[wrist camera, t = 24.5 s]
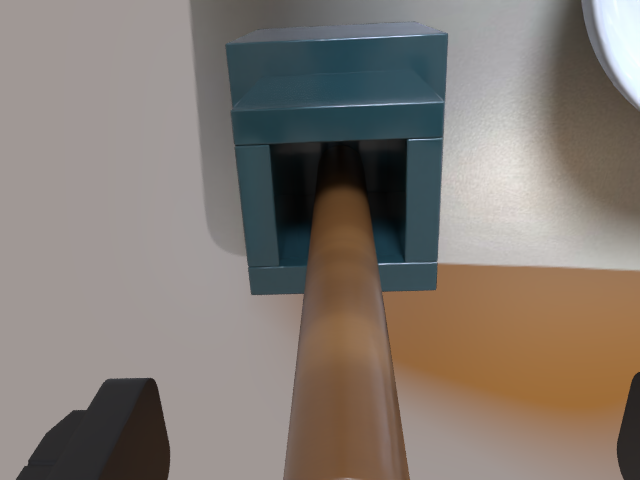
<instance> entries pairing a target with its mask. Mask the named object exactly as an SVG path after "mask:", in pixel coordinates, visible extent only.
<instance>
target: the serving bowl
mask: <svg viewBox="0 0 640 480" xmlns="http://www.w3.org/2000/svg"><path fill="white" fill-rule="evenodd" d="M581 1H582V9H583V15H584V21H585V25H586V29H587V33H588V36H589V39H590V42H591V44H592V47H593V50H594V52H595V55H596V57H597V58H598V60H599V62H600V64H601V66H602V68H603V70H604V71H605V73H606V74H607V76H608V78H609V79H610V80H611V82H612V83H613V85H614V86H615V87H616V88H617V89H618V90H619V92H620V93H621V94H622V95H623V96H624V97H625V98H626V99H627V100H628V101H629V102H630V103H631V104H632V105H633V106H634V107H635V108H636V109H637V110H639V111H640V0H581Z"/></svg>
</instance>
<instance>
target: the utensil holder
mask: <svg viewBox="0 0 640 480" xmlns="http://www.w3.org/2000/svg"><path fill="white" fill-rule="evenodd" d="M225 46H226V55H227V64H228V73H229V82H230V91H231V100H232V110H231V121H232V130H233V138H234V144H235V156H236V165H237V173H238V182H239V191H240V200H241V209H242V218H243V227H244V236H245V244H246V253H247V261H248V266H249V267H248V272H249V280H250V289H251V294H252V295H273V294H304V290H305V281H306V272H307V263H308V254H309V245H310V236H311V227H312V218H313V209H314V200H315V191H316V182H317V173H318V164H319V160H320V158H321V156H322V155H323V153H324V152H325V151H327V150H328V149H329V148H331V147H334V146H341V145H342V146H348V147H350V148H352V149H354V150H355V151H356V152H357V153H358V154H359V155H360V157H361V159H362V162H363V168H364V175H365V181H366V188H367V195H368V202H369V208H370V215H371V222H372V229H373V235H374V242H375V249H376V255H377V262H378V269H379V276H380V282H381V289H382V292H384V291H385V292H386V291H423V290H436V283H437V260H438V240H439V225H440V203H441V181H442V159H443V137H444V115H445V93H446V71H447V49H448V33H445V32H442V31H440V30H437V29H434V28H432V27H429V26H426V25H423V24H421V23H418V22H415V21H413V22H393V23H373V24H352V25H332V26H311V27H291V28H270V29H258V30H255V31H253V32H251V33H249V34H247V35H244V36H242V37H240V38H238V39H236V40H233V41H231V42H229V43H227V44H226V45H225Z"/></svg>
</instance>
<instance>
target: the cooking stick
mask: <svg viewBox="0 0 640 480" xmlns="http://www.w3.org/2000/svg"><path fill="white" fill-rule="evenodd" d="M283 480H410V478H409V472H408V464H407V458H406V451H405V444H404V438H403V431H402V424H401V417H400V410H399V404H398V397H397V391H396V384H395V377H394V370H393V363H392V357H391V350H390V343H389V337H388V330H387V323H386V317H385V309H384V303H383V296H382V289H381V282H380V276H379V269H378V262H377V255H376V249H375V242H374V235H373V229H372V222H371V215H370V208H369V202H368V195H367V188H366V181H365V175H364V168H363V162H362V159H361V157H360V155H359V154H358V153H357V152H356V151H355V150H354V149H352V148H350V147H348V146H342V145H341V146H334V147H331V148H329V149H328V150H327V151H325V152H324V153H323V155H322V156H321V158H320V160H319V164H318V173H317V182H316V191H315V200H314V209H313V218H312V227H311V236H310V245H309V254H308V263H307V272H306V281H305V290H304V299H303V309H302V318H301V326H300V335H299V344H298V353H297V362H296V371H295V379H294V389H293V398H292V407H291V416H290V425H289V433H288V442H287V451H286V460H285V469H284V478H283Z"/></svg>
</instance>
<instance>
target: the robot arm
mask: <svg viewBox="0 0 640 480" xmlns="http://www.w3.org/2000/svg"><path fill="white" fill-rule="evenodd" d="M617 458H618V463H619V467H620V471H621V474H622V476H623V479H624V480H640V372H638V373H637V374H636V375H635V376H634V378H633V380H632V383H631V386H630V391H629V395H628V399H627V403H626V407H625V412H624V416H623V420H622V424H621V428H620V433H619V437H618V442H617ZM169 467H170V446H169V440H168V436H167V431H166V426H165V421H164V416H163V411H162V406H161V401H160V396H159V391H158V387H157V384H156V382H155V380H154V379H152V378H130V379H129V378H125V379H107V380H106V381H105V382H104V383H103V384H102V386H101V387H100V389H99V391H98V392H97V394H96V396H95V397H94V399H93V401H92V402H91V404H90V406H89V407H88V409H87V410H73V411H72V412H71V413H70V414H69V415H67V416H66V417H65V418H64V419H63V420H61V421H60V422H59V423H58V424H57V425H56V426H54V427H53V428H52V429H51V430H50V431H49V432H47V433H46V434H45V436H44V437H43V439H42V441H41V442H40V444H39V445H38V447H37V448H36V450H35V451H34V453H33V454H32V456H31V457H30V459H29V460H28V466H25V467H24V468H23V470H22V471H21V472H20V474H19V476H18V477H17V479H16V480H167V479H168V474H169Z"/></svg>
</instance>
